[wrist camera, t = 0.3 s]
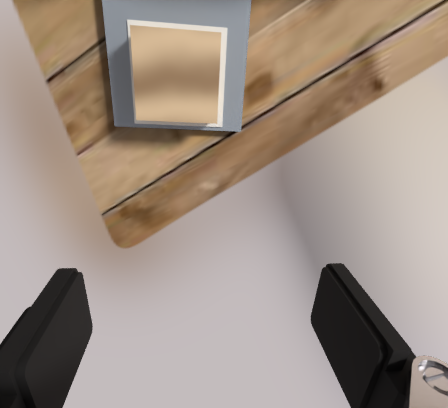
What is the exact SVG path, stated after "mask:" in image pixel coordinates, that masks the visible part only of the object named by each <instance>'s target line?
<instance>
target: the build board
mask: <svg viewBox="0 0 448 408" xmlns="http://www.w3.org/2000/svg"><path fill="white" fill-rule="evenodd" d="M102 6H103V16H104V26H105V36H106V45H107V55H108V65H109V75H110V85H111V95H112V105H113V115H114V125H115V126H116V127H140V128H165V129H189V130H213V131H238V132H241V122H242V110H243V97H244V85H245V72H246V60H247V47H248V35H249V23H250V10H251V0H102ZM130 25H136V26H148V27H161V28H173V29H185V30H198V31H210V32H221V52H220V74H219V96H218V118H217V124H212V123H190V122H167V121H144V120H136V108H135V93H134V79H133V64H132V50H131V36H130Z"/></svg>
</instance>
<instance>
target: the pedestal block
mask: <svg viewBox="0 0 448 408" xmlns="http://www.w3.org/2000/svg"><path fill="white" fill-rule="evenodd" d="M130 36H131V50H132V64H133V79H134V93H135V108H136V120H144V121H167V122H190V123H212V124H217V118H218V96H219V74H220V52H221V32H210V31H198V30H185V29H173V28H161V27H148V26H136V25H130Z"/></svg>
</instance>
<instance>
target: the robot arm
mask: <svg viewBox="0 0 448 408" xmlns="http://www.w3.org/2000/svg"><path fill="white" fill-rule="evenodd" d="M311 324H312V326H313V328H314V331H315V333H316V335H317V337H318V339H319V341H320V343H321V345H322V347H323V350H324V352H325V354H326V356H327V358H328V360H329V362H330V364H331V366H332V369H333V371H334V373H335V375H336V377H337V379H338V381H339V383H340V385H341V388H342V390H343V392H344V394H345V396H346V398H347V400H348V402H349V404H350V406H351V408H448V364H447V363H445V362H443V361H441V360H439V359H437V358H434V357H430V356H418V357H416V356H415V355H414V353H413V352H412V351H411V348H410V347H409V346H408V345H407V343H406V342H405V341H404V340H403V338H402V337H401V336H400V335H399V333H398V332H397V331H396V330H395V328H394V327H393V326H392V324H391V323H390V322H389V321H388V319H387V318H386V317H385V316H384V314H383V313H382V312H381V311H380V309H379V308H378V307H377V306H376V304H375V303H374V302H373V301H372V299H371V298H370V297H369V296H368V294H367V293H366V292H365V290H363V288H362V287H361V285H359V283H358V282H357V280H356V279H355V278H354V277H353V275H352V274H351V273H350V272H349V270H348V269H347V268H346V267H345V266H344V264H341V263H339V264H327V265H326V267H324V268H323V269H322V272H321V276H320V280H319V284H318V288H317V293H316V297H315V301H314V305H313V309H312V313H311ZM91 334H92V320H91V315H90V310H89V305H88V299H87V294H86V289H85V284H84V279H83V275H82V273H81V272H78V271H77V269H76V268H68V269H67V268H62V269H58V270H57V271H56V272H55V274H54V275H53V276H52V278H51V279H50V281H49V282H48V284H47V285H46V286H45V288H44V289H43V291H42V292H41V293H40V295H39V296H38V298H37V299H36V300H35V302H34V304H33V305H32V306H31V307H29V308H27V309H26V310H25V311H24V312H23V314H22V315H21V316H20V318H19V319H18V321H17V322H16V323H15V325H14V326H13V327H12V329H11V330H10V332H9V333H8V334H7V336H6V337H5V339H4V340H3V341H2V343H1V344H0V408H62V407H63V405H64V402H65V400H66V397H67V395H68V392H69V390H70V387H71V385H72V382H73V380H74V377H75V375H76V372H77V369H78V367H79V364H80V362H81V359H82V357H83V354H84V352H85V349H86V347H87V344H88V342H89V339H90V336H91Z"/></svg>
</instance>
